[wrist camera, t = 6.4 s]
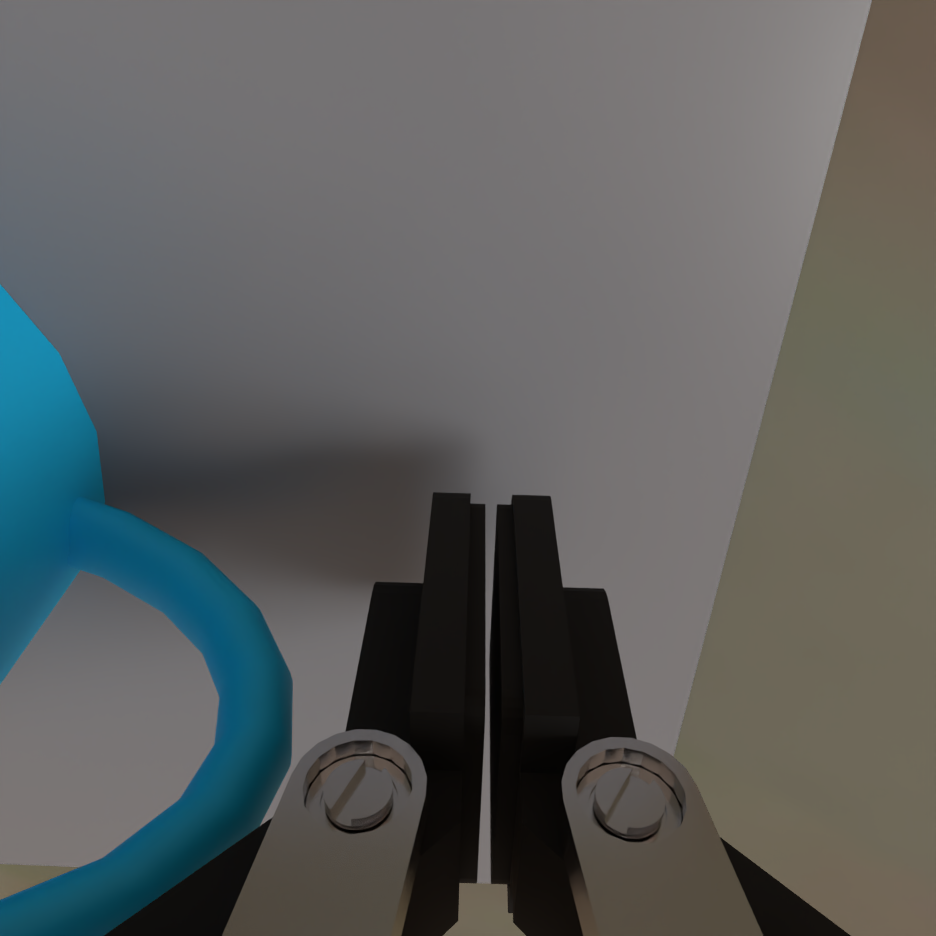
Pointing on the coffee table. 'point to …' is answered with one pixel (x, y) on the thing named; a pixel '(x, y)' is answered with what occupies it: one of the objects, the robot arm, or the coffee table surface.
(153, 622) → the mat
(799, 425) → the coffee table surface
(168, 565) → the mug
